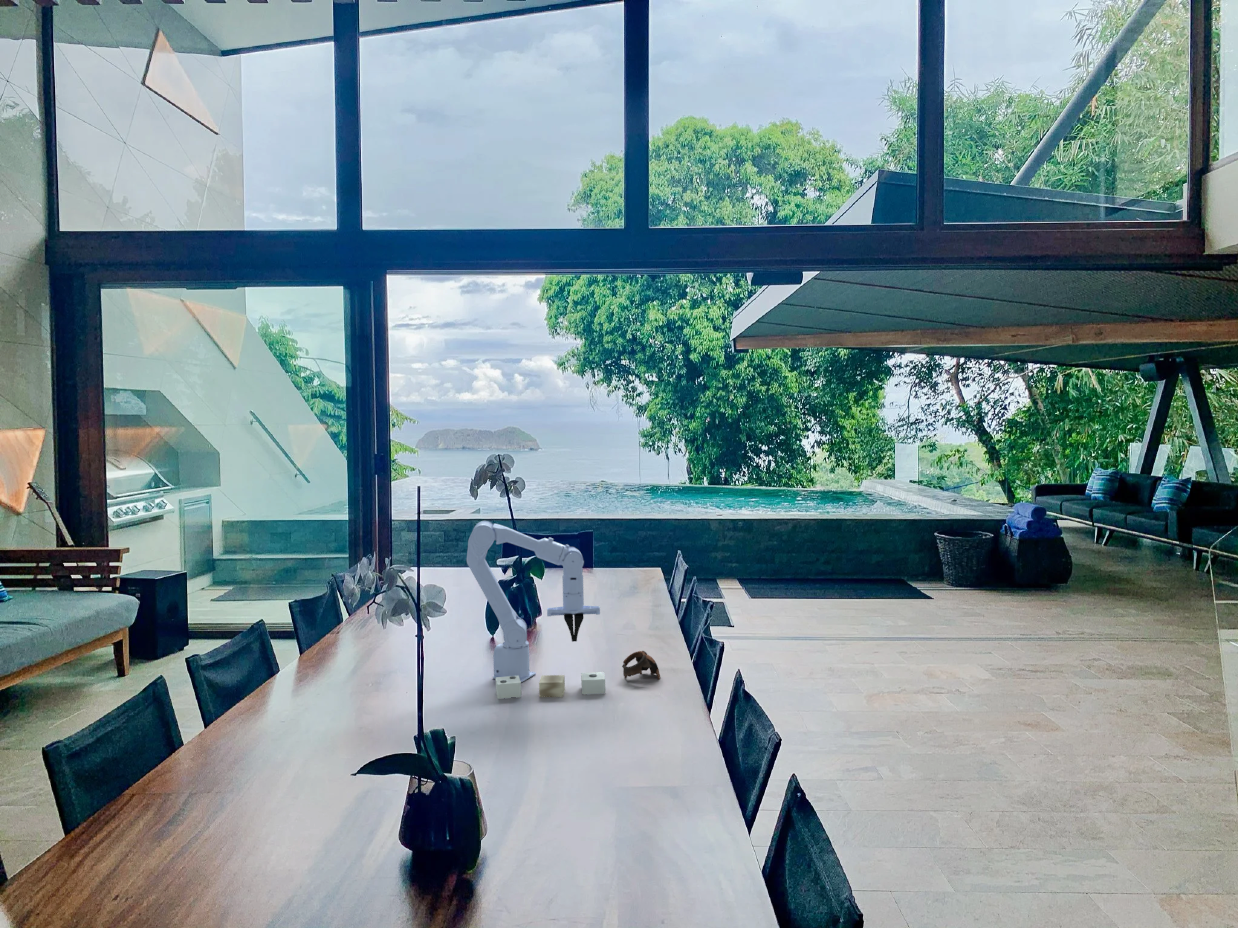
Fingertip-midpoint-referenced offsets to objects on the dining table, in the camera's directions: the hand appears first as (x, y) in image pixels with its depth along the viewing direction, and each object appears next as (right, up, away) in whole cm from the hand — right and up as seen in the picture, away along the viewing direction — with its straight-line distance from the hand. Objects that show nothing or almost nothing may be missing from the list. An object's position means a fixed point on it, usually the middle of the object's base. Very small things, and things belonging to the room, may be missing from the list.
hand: (574, 640), depth 236 cm
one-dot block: (+6, -10, -14) cm, 18 cm away
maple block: (-5, -11, -15) cm, 19 cm away
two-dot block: (-16, -11, -15) cm, 25 cm away
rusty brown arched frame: (+19, -10, -3) cm, 21 cm away
